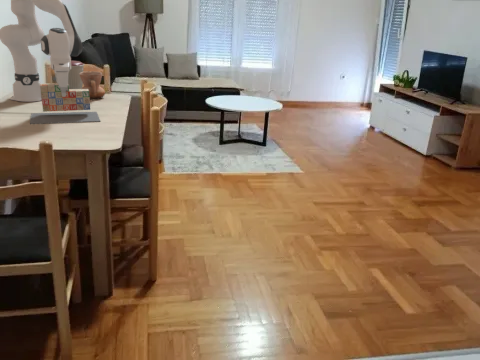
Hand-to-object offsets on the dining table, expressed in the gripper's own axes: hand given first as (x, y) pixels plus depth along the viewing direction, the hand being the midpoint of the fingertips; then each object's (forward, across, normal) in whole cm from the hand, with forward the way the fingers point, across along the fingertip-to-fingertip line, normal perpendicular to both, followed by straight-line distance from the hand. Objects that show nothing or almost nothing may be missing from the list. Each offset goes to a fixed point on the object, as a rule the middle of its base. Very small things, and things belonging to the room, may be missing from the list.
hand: (63, 94), depth 217 cm
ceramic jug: (+10, -43, +16) cm, 47 cm away
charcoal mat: (+10, +5, 0) cm, 11 cm away
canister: (+10, -63, +5) cm, 64 cm away
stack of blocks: (+7, 0, +1) cm, 7 cm away
